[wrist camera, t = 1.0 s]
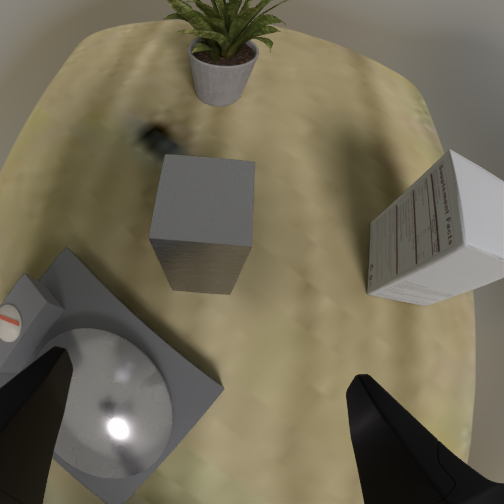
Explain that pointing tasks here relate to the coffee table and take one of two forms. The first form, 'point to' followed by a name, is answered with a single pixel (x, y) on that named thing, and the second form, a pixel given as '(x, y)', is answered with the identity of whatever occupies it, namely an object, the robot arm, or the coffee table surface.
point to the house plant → (223, 45)
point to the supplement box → (439, 235)
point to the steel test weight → (203, 221)
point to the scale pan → (112, 405)
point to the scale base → (102, 318)
